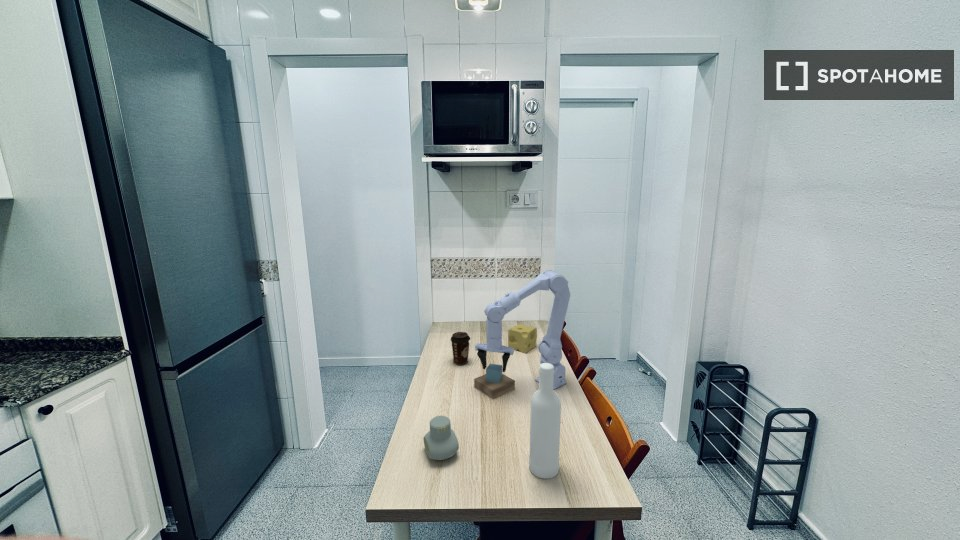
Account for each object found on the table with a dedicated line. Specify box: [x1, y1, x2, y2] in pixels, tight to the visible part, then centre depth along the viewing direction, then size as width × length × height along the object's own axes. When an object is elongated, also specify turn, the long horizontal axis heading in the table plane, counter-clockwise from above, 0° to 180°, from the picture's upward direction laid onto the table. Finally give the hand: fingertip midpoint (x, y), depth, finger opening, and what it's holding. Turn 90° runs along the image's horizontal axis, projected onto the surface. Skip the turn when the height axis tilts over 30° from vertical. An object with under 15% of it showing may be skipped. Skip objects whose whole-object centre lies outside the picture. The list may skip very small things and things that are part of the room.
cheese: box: [507, 323, 538, 354], centre depth 175 cm, size 10×11×10 cm
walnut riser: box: [473, 373, 516, 400], centre depth 138 cm, size 11×11×4 cm
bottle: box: [528, 363, 562, 480], centre depth 95 cm, size 8×8×30 cm
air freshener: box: [423, 415, 460, 461], centre depth 103 cm, size 11×8×10 cm
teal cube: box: [485, 363, 503, 383], centre depth 138 cm, size 5×5×5 cm
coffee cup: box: [450, 331, 471, 366], centre depth 159 cm, size 9×8×13 cm
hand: (494, 369), depth 137 cm, fingers open, 7 cm apart
